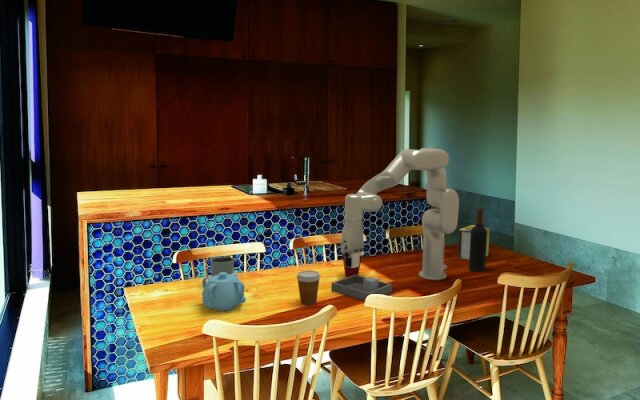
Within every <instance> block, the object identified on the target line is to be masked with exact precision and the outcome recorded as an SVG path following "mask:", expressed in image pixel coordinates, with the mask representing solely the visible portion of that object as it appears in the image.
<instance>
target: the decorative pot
mask: <svg viewBox="0 0 640 400" xmlns="http://www.w3.org/2000/svg"><path fill="white" fill-rule="evenodd" d="M201 284H202V288H203V291H202V292H201V295H202V299H201V302H202V303H203V304H202V305H204V306H205V307H206V308H208V309H209V308H210V310H216V311H222V312H225V311H226V312H230V310H232V309H234V308H237V307H238V306H240V305H241V304H244V303H245V302H246V300H247V298H246V296H245V289H246V288H245V284H244V283H243V282H242V281H241V280H240V279H239V277H238V275H237V274H236V273H233V274H227V273H226V272H221V273H219V275H215V276H213V277H212V276H206V277H204V278H203V279H202V283H201Z"/></svg>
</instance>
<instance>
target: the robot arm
mask: <svg viewBox="0 0 640 400" xmlns="http://www.w3.org/2000/svg"><path fill="white" fill-rule="evenodd" d="M449 161H450V156H449V154H448V153H447V151H446V150H443V149H439V148H434V147H433V148H430V147H423V148H420V149H410V148H406V149H402V150H401V151H399V153H398V154H397V155H396V156H395V158H393V160H391V162H390V163H389V164H388V166H386V168H385V169H384V170H382V172H380V173H378V174H376V175H375V176H373V177H371V178H370V179H369V180H367V181H366V182H365V183H364V184H363V185H362V186H361V187H360V188H359V190H358V191H356V193H349V194H347V195H345V197H344V223H343V224H344V225H343V227H342V232H341V238H340V239H341V240H340V253H341V255H342V254H343V255H344V257H345V266H347V267H351V263H352V258H351V253H352V251H353V250H354V251H355V252H359V253H360V255H361V251H362V252H363V249H364V248H365V244H364V230H363V229H364V228H363V212H371V213H374V212H378V211H379V210H380V209H381V208H382V206H383V200H382V198H381V196H379V195H377V194H378V193H379V192H381V191H383V190H385V189H389V188H392V187H395V186H397V185H399V184H400V183H401V181H402V180H403V179H404V178H405V177H406V175H408V174H409V173H410V171H411V170H416V171H425V173H426V180H427V181H426V183H427V184H426V202H427V204H428V205H430V206H432V207H435V208H430V209H427V210H425V211H424V212H423V214H422V218H421V225H422V233H423V240H422V241H423V243H422V244H423V245H422V269H421V270H420V271H419V272H418V276H419V277H420V278H422V279H424V280H431V281H440V280H441V281H442V280H444V279H446V278H447V273H445V272H444V270H446V269H448V266H447V265H446V264H444V263H445V262H444V259H445V256H444V255H445V243H446V242H445V240H446V239H445V235H446V234H447V235H450V234H452V233H454V232H455V230H456V229H457V227H458V221H459V207H460V198H459V195H458V193H457V192H456V190H454V189H452V188H451V187H447V172H446V167H447V166H448V164H449ZM347 252H349V254H348V253H347Z"/></svg>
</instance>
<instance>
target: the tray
mask: <svg viewBox="0 0 640 400" xmlns="http://www.w3.org/2000/svg"><path fill="white" fill-rule="evenodd" d="M366 278H367V277H365V276H362V275H360V274H358V275H353V276H350V277H345V278H341V279H338V280H336V281H332V282H331V291H332V292H335V293H338V294H340V295H344V296H347V297H351V298H353V299H356V300H360V301H363V302H366V301H365V299H366V297H367V296H368V295H370V294H384V295H385V296H387V294H388V295H389V294H392V293H393V284H392V283H388V282H384V281H380V280H379V287H378V289H376V290H373V291H371V292H365V291H363V279H366Z"/></svg>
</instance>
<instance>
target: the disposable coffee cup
mask: <svg viewBox="0 0 640 400" xmlns="http://www.w3.org/2000/svg"><path fill="white" fill-rule="evenodd" d="M320 279H321V274H320V273H319V271H315V270H301V271H299V272H298V273H297V275H296V280H297V285H298V293H299V300H300V304H301V305H303V306H315V305H316V303H317V302H318V301H317V300H318V299H317V298H318V292H319V283H320Z"/></svg>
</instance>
